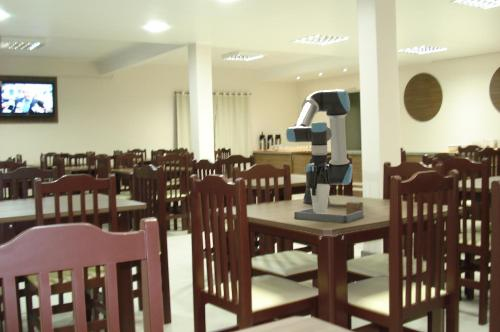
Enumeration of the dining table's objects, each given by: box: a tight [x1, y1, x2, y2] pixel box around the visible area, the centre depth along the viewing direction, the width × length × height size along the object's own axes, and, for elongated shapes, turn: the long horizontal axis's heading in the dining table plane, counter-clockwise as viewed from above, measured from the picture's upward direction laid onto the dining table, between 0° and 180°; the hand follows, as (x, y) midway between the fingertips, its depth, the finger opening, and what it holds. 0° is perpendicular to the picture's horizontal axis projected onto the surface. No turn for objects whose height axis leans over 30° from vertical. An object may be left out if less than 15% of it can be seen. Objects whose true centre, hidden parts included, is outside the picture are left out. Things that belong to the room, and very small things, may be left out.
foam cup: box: [310, 184, 331, 214], centre depth 258 cm, size 10×9×13 cm
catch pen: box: [293, 207, 364, 224], centre depth 255 cm, size 19×26×3 cm
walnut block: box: [345, 201, 364, 215], centre depth 264 cm, size 6×6×6 cm
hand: (319, 201), depth 258 cm, fingers closed on foam cup, 9 cm apart
